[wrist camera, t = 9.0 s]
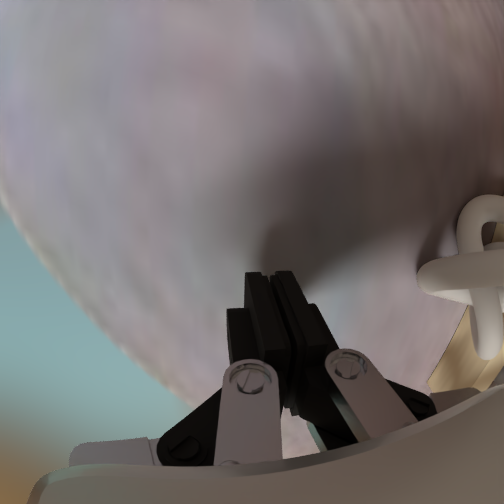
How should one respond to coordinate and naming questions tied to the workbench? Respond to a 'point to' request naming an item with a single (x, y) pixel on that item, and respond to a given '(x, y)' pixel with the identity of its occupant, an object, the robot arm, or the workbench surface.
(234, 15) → the workbench surface
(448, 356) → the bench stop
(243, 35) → the workbench surface
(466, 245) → the knot
